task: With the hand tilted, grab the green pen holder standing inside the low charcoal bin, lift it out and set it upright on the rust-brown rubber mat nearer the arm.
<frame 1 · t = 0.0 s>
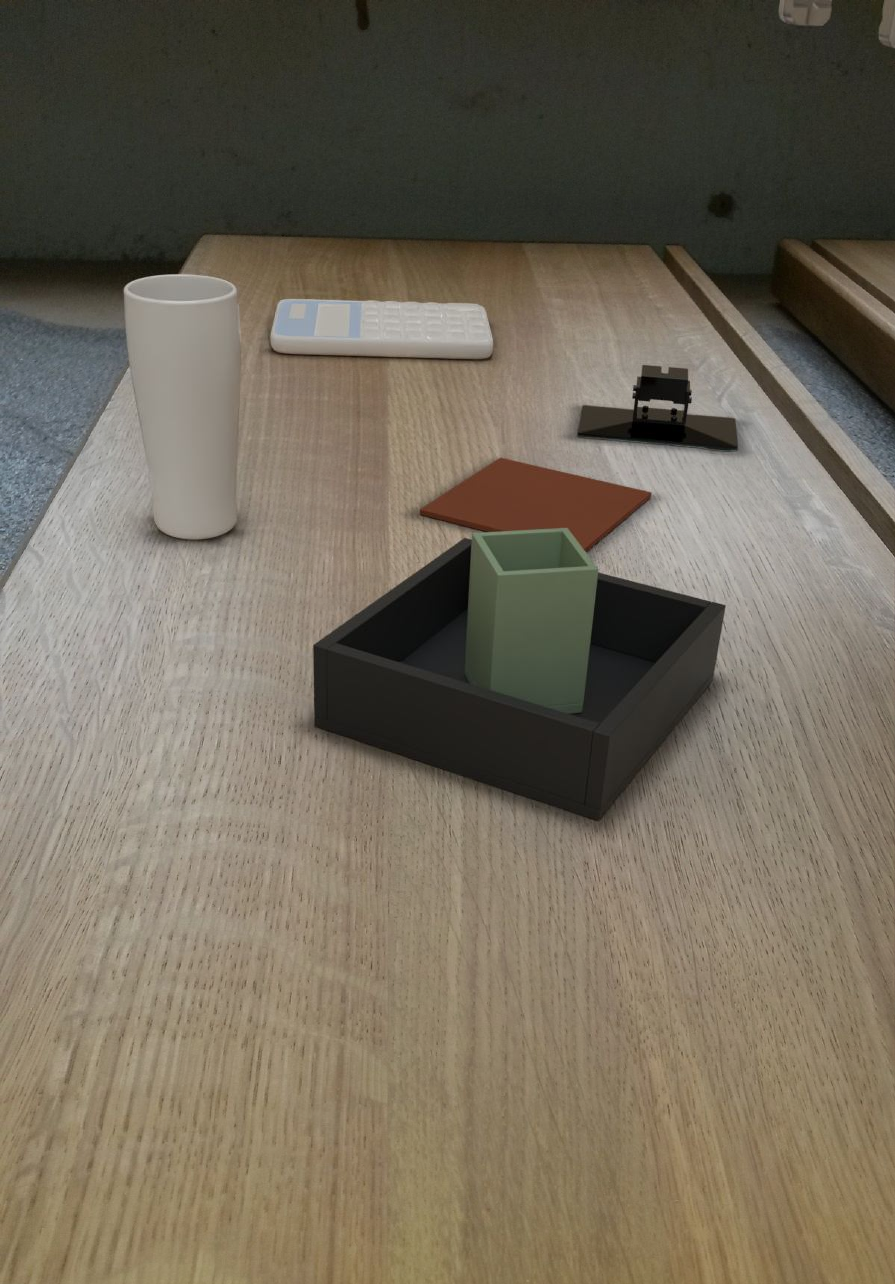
hand: (850, 36, 54), 31 cm above the table, tool pointing down, fingers open, 8 cm apart
bin: (521, 702, 71), on the table
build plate: (657, 431, 108), on the table
calculator: (382, 339, 126), on the table
mat: (537, 506, 94), on the table
green pen holder: (522, 693, 71), point 1 cm above the table, touching bin
drinking glass: (196, 529, 88), on the table
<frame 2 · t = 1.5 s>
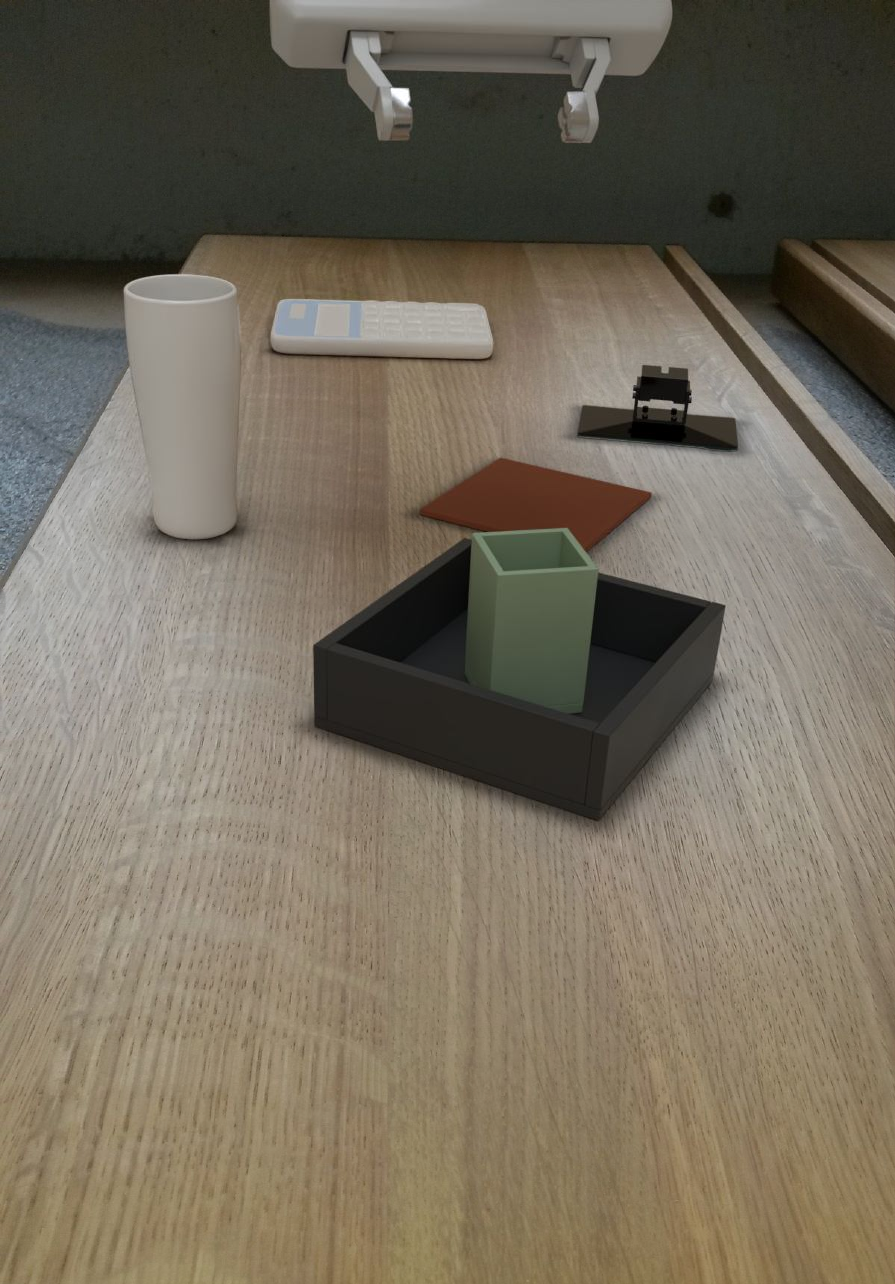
hand: (490, 134, 67), 25 cm above the table, tool tilted 45°, fingers open, 8 cm apart
nothing on the table moved.
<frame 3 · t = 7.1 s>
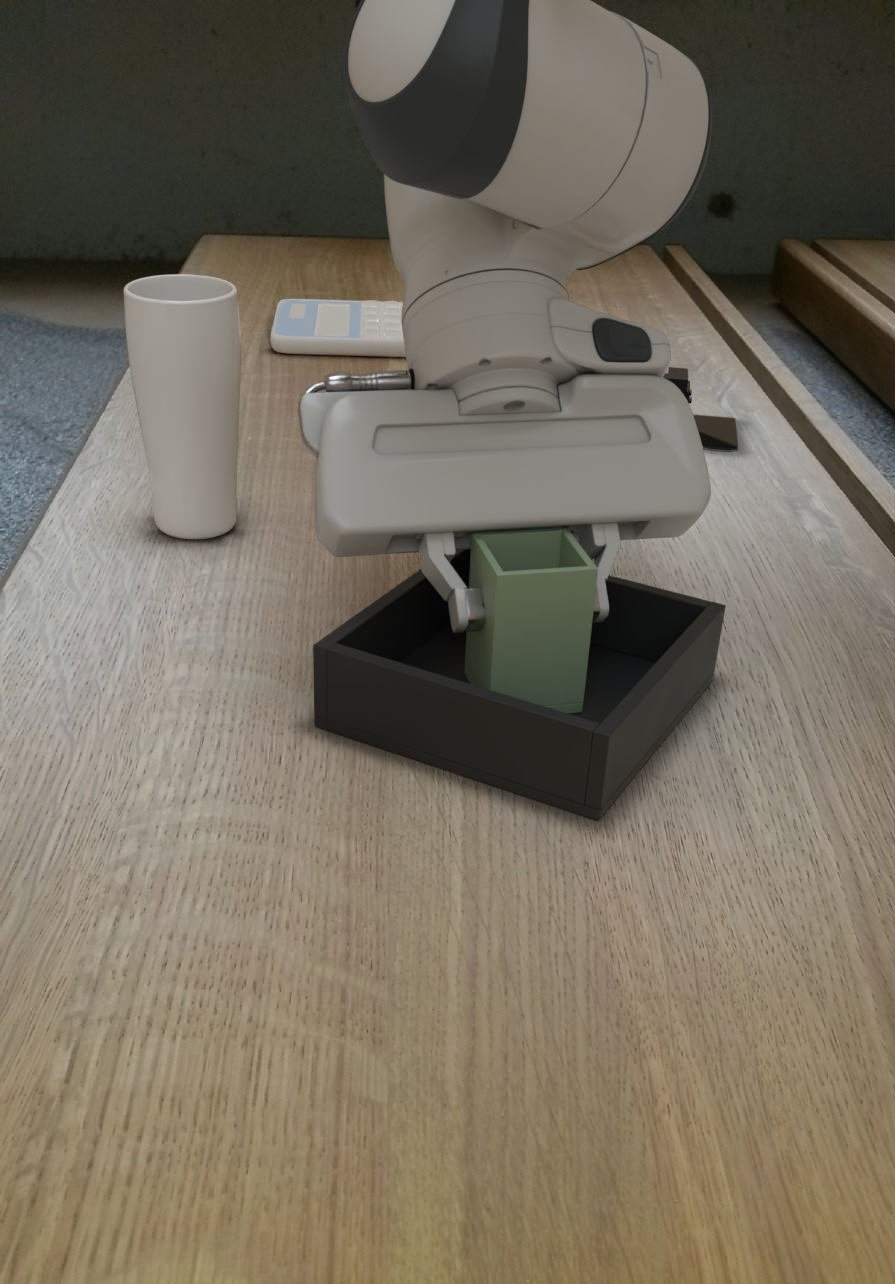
hand: (532, 624, 68), 5 cm above the table, tool tilted 45°, fingers closed on green pen holder, 5 cm apart
green pen holder: (522, 692, 71), point 1 cm above the table, touching bin, gripper
everything else where it was.
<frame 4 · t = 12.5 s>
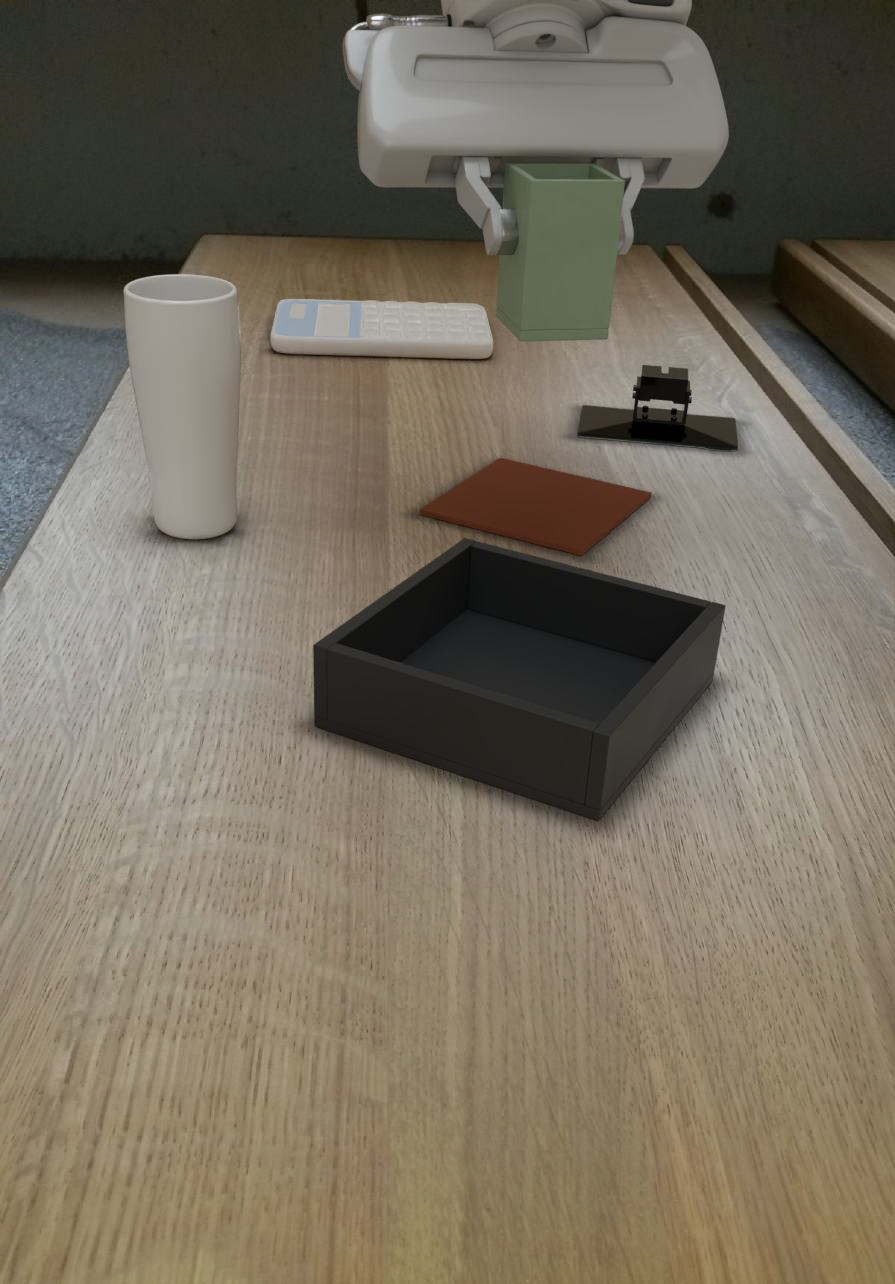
hand: (561, 249, 72), 19 cm above the table, tool tilted 45°, fingers closed on green pen holder, 5 cm apart
green pen holder: (550, 328, 75), point 15 cm above the table, touching gripper
everything else where it was.
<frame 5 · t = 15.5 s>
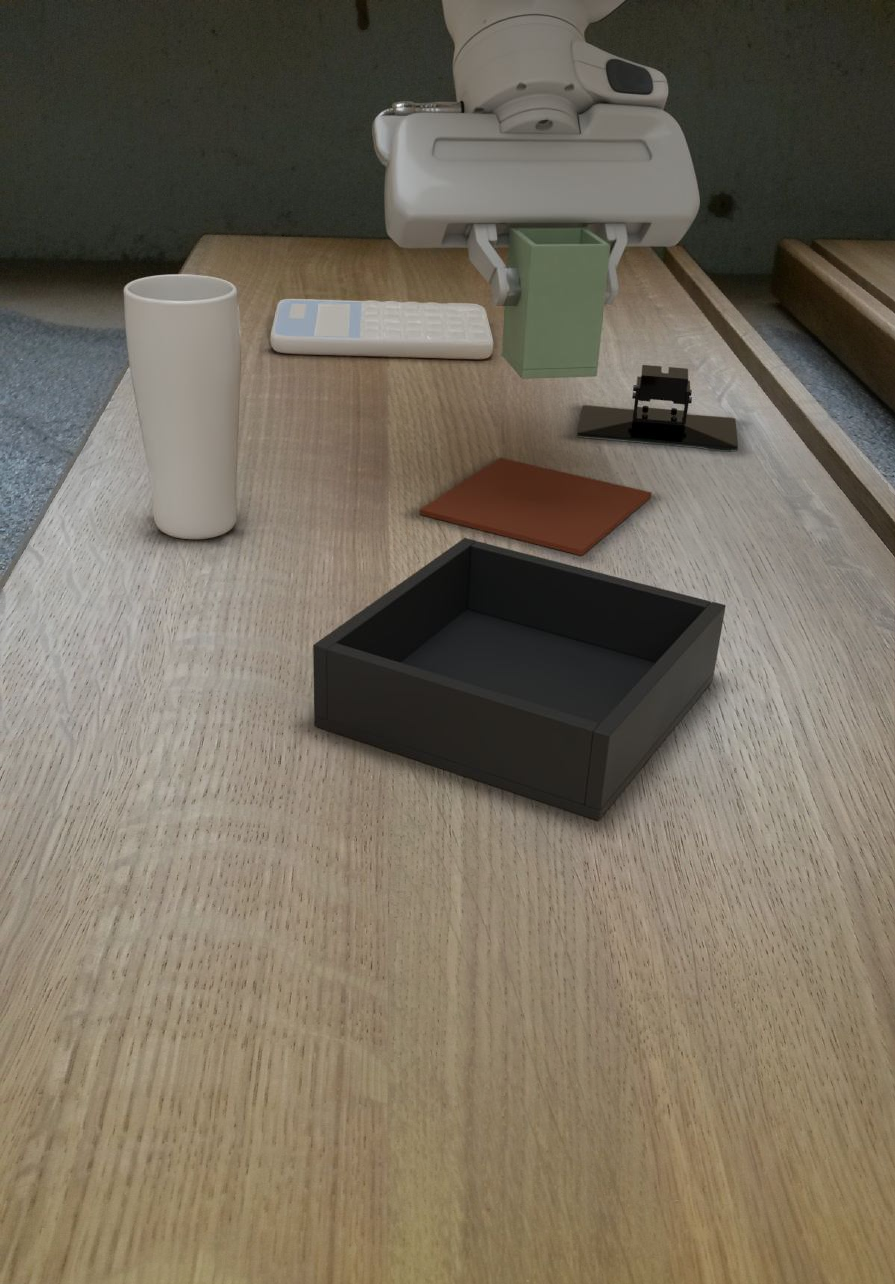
hand: (557, 301, 85), 14 cm above the table, tool tilted 45°, fingers closed on green pen holder, 5 cm apart
green pen holder: (548, 366, 88), point 10 cm above the table, touching gripper
everything else where it was.
when the fingers open (5 cm above the table, at t = 18.4 s): green pen holder stays where it is, resting on mat.
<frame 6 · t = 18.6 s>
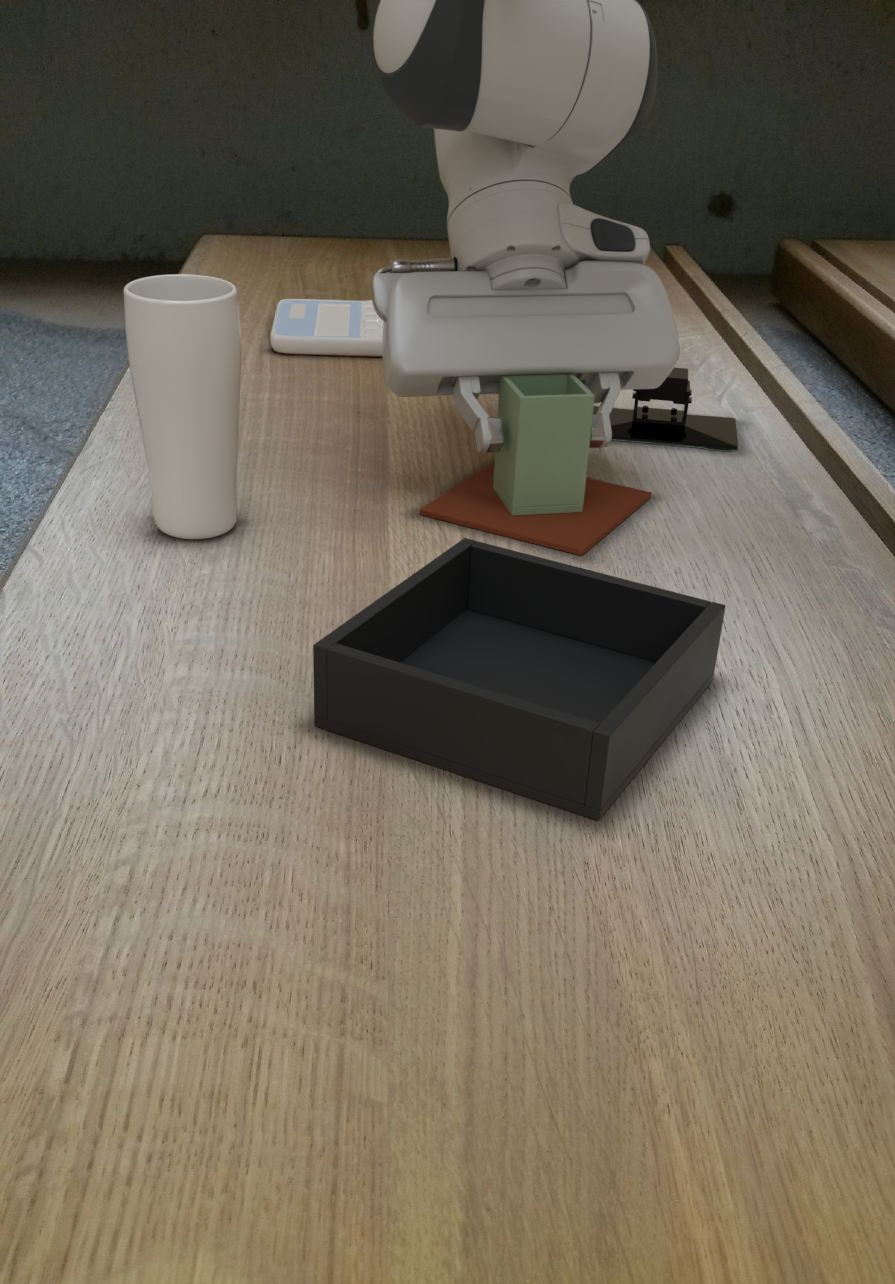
hand: (545, 447, 91), 4 cm above the table, tool tilted 45°, fingers open, 6 cm apart
green pen holder: (537, 500, 93), resting on mat
everything else where it was.
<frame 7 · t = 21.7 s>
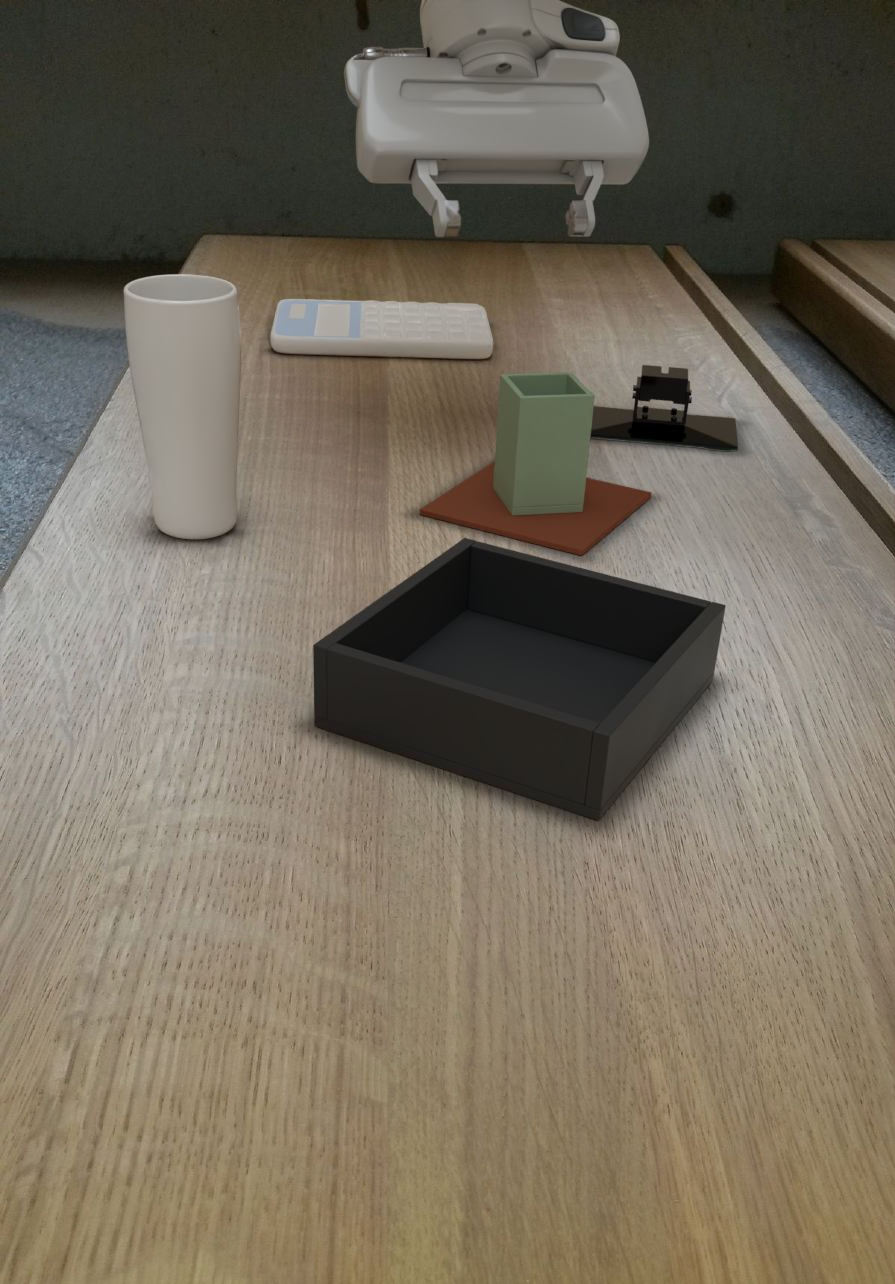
hand: (516, 232, 92), 16 cm above the table, tool tilted 45°, fingers open, 8 cm apart
nothing on the table moved.
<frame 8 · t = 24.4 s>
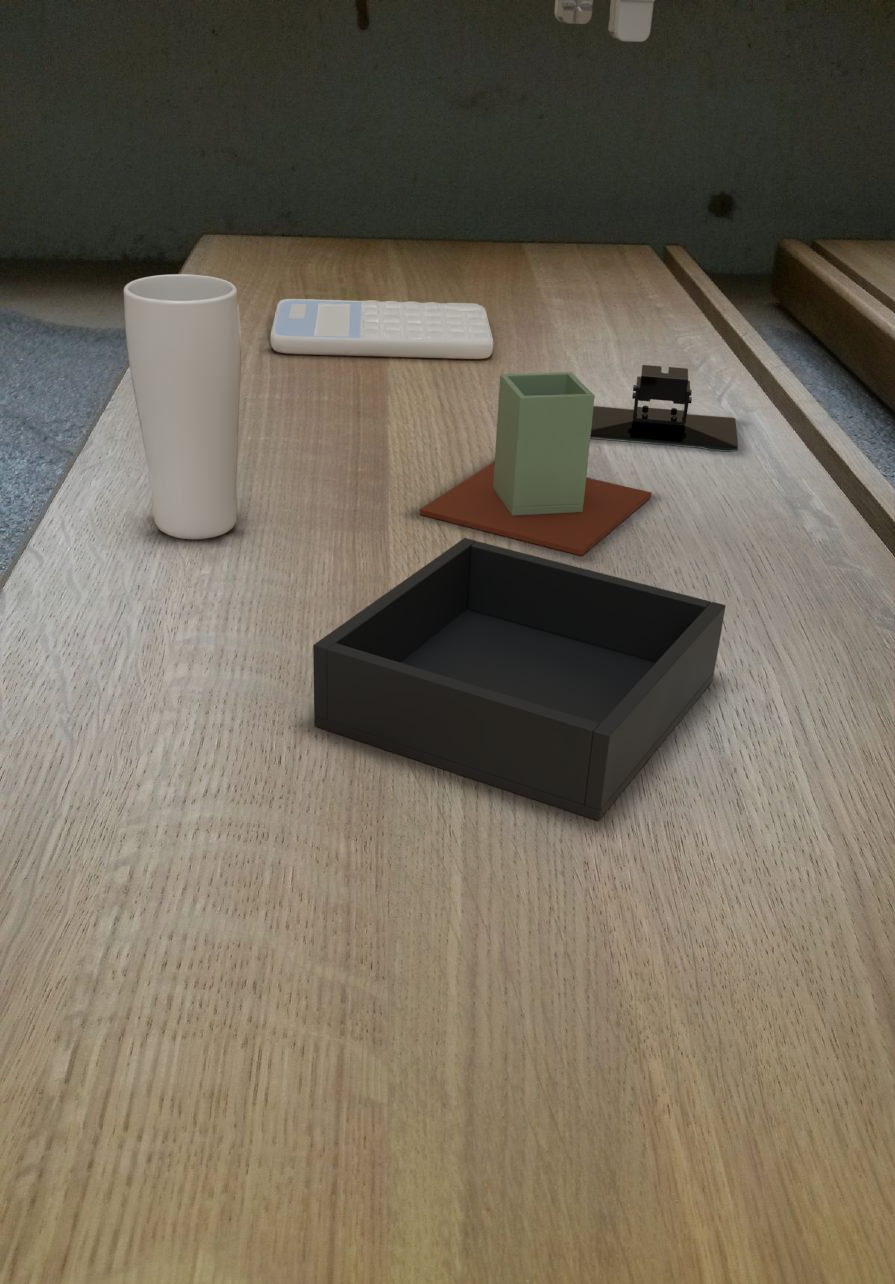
hand: (598, 31, 73), 29 cm above the table, tool pointing down, fingers open, 8 cm apart
nothing on the table moved.
at the end: green pen holder inside the target area on the mat (0.1 cm from its centre), point 0.4 cm above the mat's base; green pen holder tilted 0°; green pen holder touching mat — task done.
